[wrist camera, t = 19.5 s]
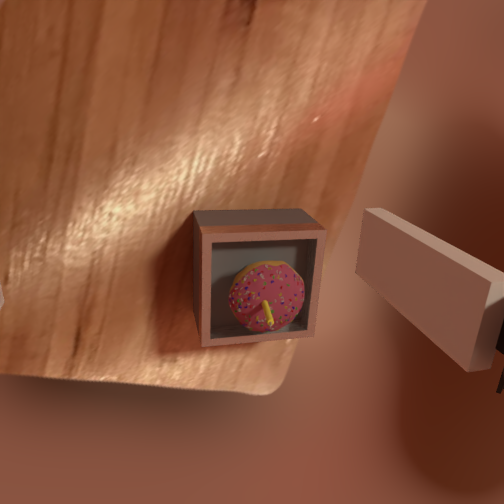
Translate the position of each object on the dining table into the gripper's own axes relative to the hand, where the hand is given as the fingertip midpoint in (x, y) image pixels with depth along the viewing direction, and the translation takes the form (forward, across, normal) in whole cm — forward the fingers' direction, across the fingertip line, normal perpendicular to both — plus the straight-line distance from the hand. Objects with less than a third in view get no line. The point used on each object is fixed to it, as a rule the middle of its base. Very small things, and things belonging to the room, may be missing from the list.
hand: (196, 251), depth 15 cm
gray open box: (+36, +11, -16) cm, 41 cm away
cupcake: (+30, +11, -16) cm, 36 cm away
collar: (+30, +11, -17) cm, 36 cm away
